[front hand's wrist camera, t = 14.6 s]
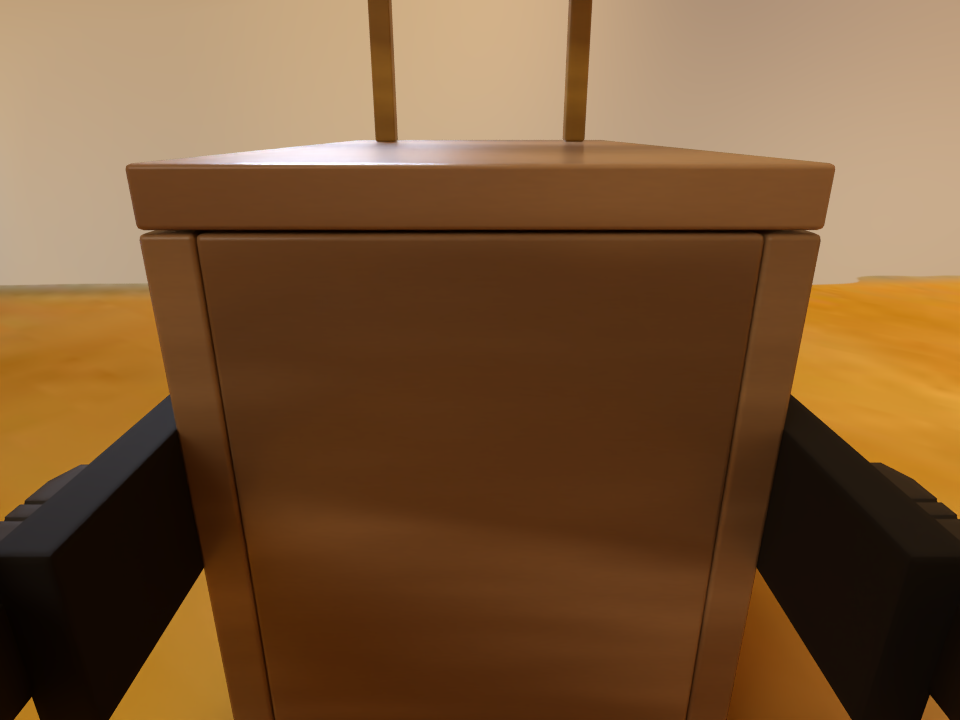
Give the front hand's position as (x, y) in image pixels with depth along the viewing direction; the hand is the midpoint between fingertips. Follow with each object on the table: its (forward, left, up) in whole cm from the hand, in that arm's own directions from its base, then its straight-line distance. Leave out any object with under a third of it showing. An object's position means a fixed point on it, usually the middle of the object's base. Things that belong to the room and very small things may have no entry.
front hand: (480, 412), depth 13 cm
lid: (+3, -4, +4) cm, 7 cm away
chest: (+3, -4, -6) cm, 8 cm away
